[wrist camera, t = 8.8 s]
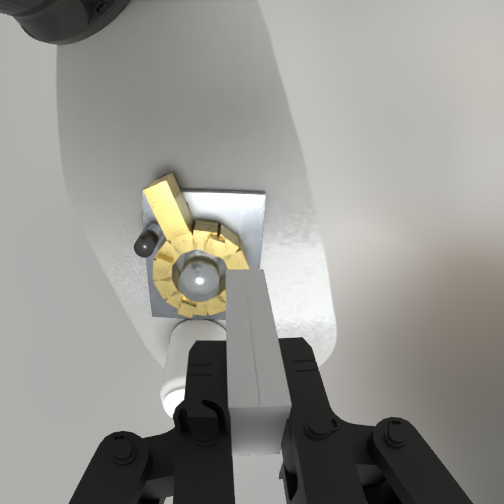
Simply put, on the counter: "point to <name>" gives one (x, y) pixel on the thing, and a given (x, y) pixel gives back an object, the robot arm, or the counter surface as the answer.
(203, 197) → the plate
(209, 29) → the counter surface
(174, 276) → the segmented ring with handle
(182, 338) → the beverage can
